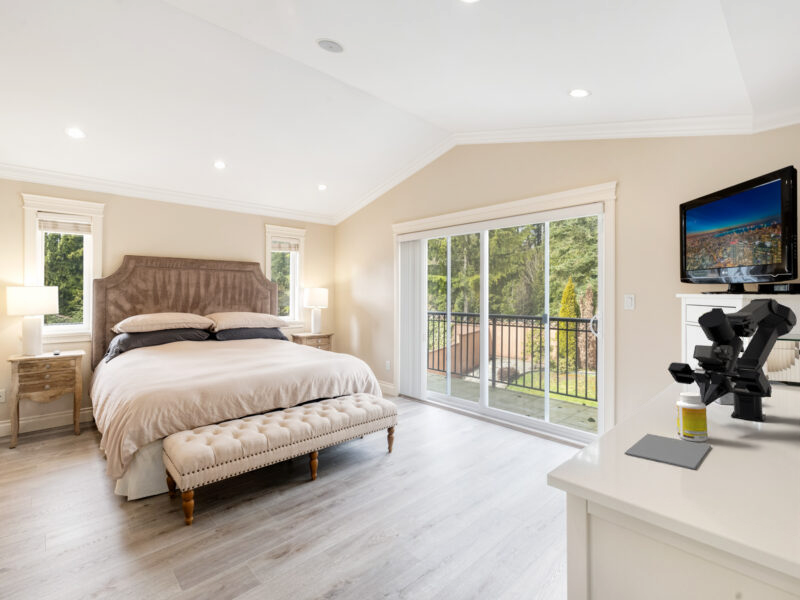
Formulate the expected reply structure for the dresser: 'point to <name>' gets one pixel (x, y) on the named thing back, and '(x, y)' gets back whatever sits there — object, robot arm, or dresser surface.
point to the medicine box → (725, 399)
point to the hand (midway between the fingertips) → (703, 404)
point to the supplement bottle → (691, 417)
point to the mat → (669, 451)
